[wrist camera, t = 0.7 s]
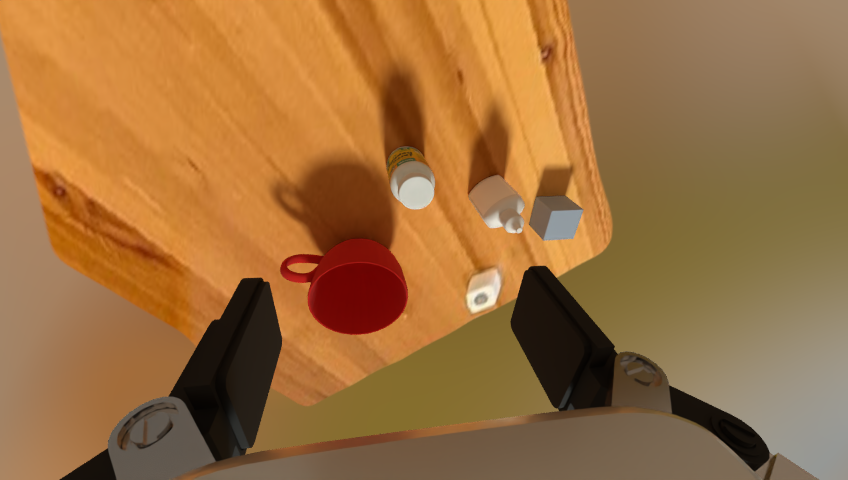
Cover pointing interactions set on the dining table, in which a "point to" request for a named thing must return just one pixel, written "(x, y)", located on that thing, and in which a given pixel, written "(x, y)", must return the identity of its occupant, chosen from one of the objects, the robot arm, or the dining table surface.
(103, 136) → the dining table surface
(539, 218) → the slate block
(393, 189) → the supplement bottle
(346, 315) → the ceramic cup
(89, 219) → the dining table surface
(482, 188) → the eye dropper bottle
